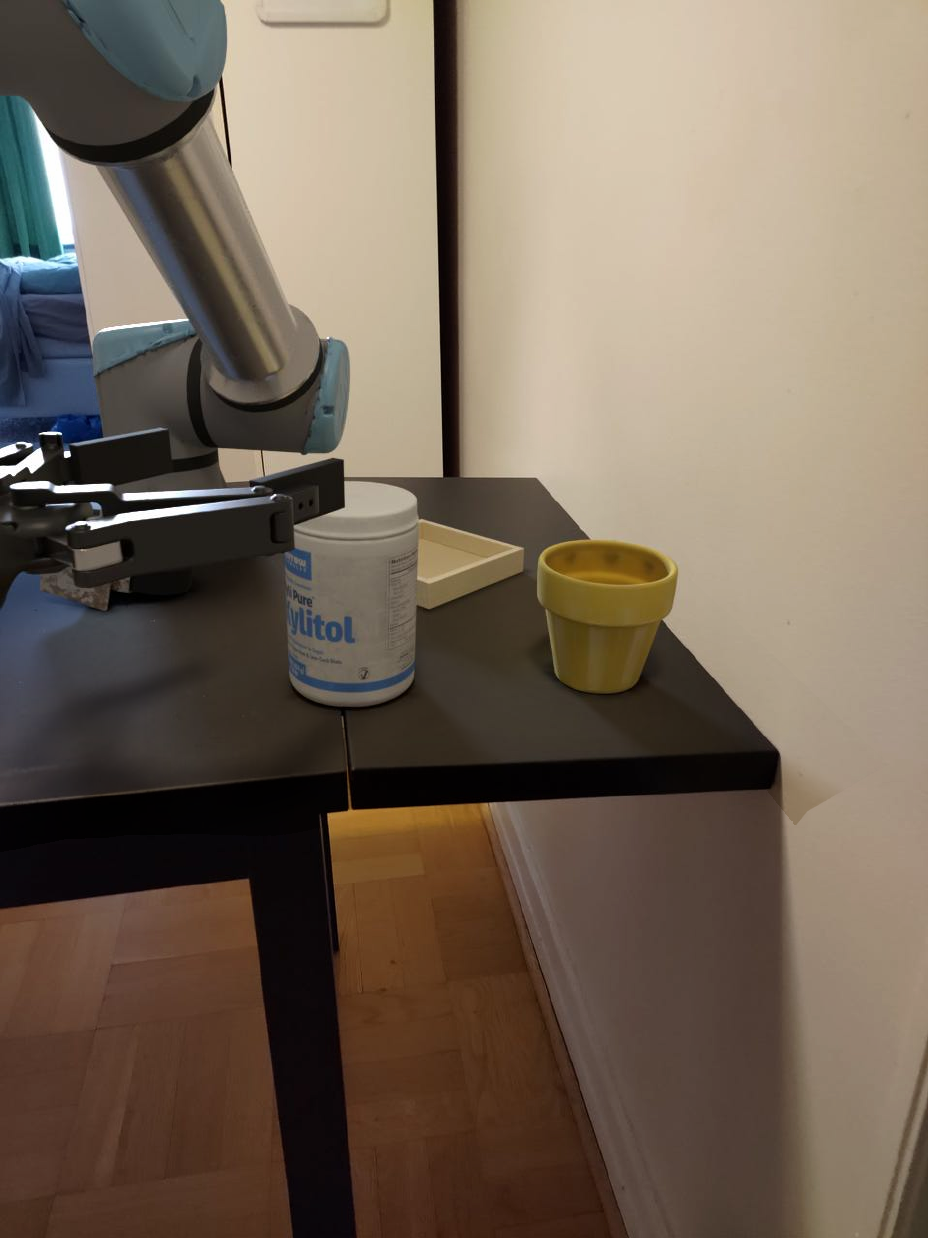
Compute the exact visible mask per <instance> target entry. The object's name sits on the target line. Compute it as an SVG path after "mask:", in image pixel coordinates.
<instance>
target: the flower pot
mask: <svg viewBox="0 0 928 1238" xmlns="http://www.w3.org/2000/svg"><path fill="white" fill-rule="evenodd" d="M678 577H679V568H678V565H677V563H676V562H675V561H674V560H673V559H672V558H671V557H670V556H668V555H666V554H665V553H663V552H661V551H658V550H657V549H653V548H651V547H648V546H645V545H641V544H637V543H632V542H628V541H627V542H626V541H619V540H609V539H578V540H570V541H569V540H568V541H564V542H560V543H557V544H554V545H551V546H549V547H547V548H546V549H544V550H543V551H542V552H541V554H540V555H539V557H538V562H537V579H536V581H537V582H536V595H537V596H536V597H537V599H538V602H539V603H540V605H541V606H542V607H543V608H544V609H545V616H546V622H547V628H548V633H549V634H548V635H549V640H550V641H549V642H550V647H551V654H552V661H553V667H554V674H555V676H556V678H557V679H558V680H559V681H560V682H561V683H562V684H564V685H566V686H567V687H569V688H571V689H574V690H576V691H580V692H582V693H587V694H588V693H589V694H595V695H596V694H597V695H610V694H611V695H612V694H618V693H622V692H625V691H627V690H630V689H632V688H633V687H634V686H635V685H636V684H637V683H638V681H639V680H640V677H641V674H642V671H643V669H644V666H645V663H646V661H647V658H648V656H649V653H650V651H651V648H652V646H653V643H654V640H655V637H656V635H657V631H658V629H659V626H660V624H661V622H662V620H664V619H665V618H666V617H668V616H669V614H670V613H671V611H672V610H673V606H674V601H675V596H676V591H677V584H678Z"/></svg>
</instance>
